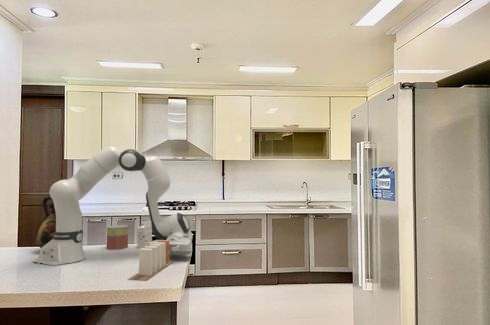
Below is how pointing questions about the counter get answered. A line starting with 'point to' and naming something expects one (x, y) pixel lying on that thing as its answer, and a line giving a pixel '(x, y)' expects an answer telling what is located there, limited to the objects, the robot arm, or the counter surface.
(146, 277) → the walnut board
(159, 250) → the ivory tile
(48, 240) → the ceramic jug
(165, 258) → the ivory tile
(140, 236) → the ink cartridge box
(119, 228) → the canned food
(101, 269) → the counter surface
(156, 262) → the ivory tile
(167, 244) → the rust tile
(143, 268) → the ivory tile
